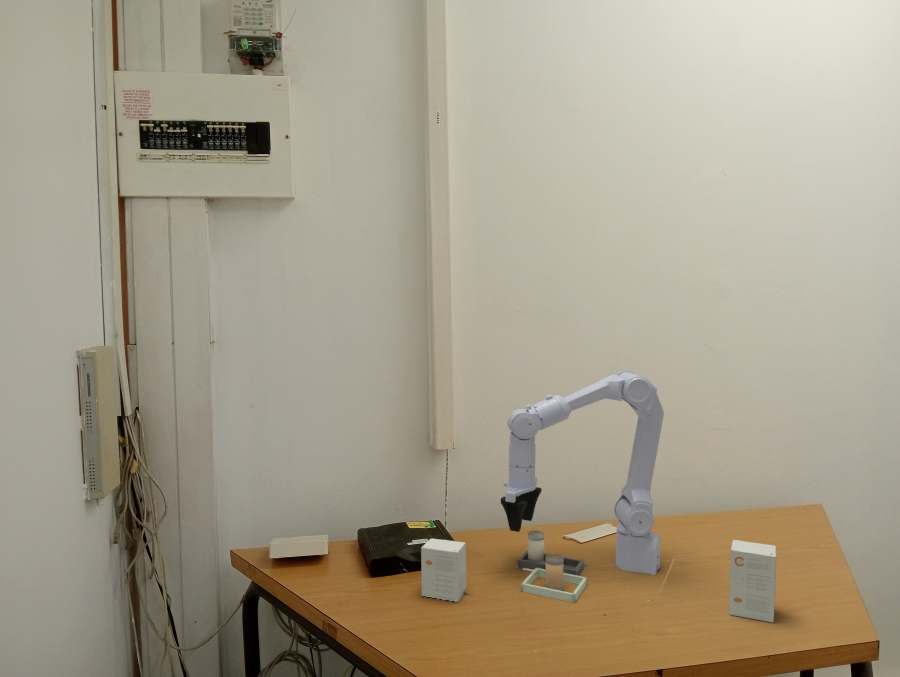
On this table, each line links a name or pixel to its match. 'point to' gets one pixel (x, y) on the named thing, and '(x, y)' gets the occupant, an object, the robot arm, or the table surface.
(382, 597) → the table surface
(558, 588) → the cylinder
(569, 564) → the tray
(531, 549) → the cylinder
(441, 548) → the small box
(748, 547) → the small box
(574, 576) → the tray
